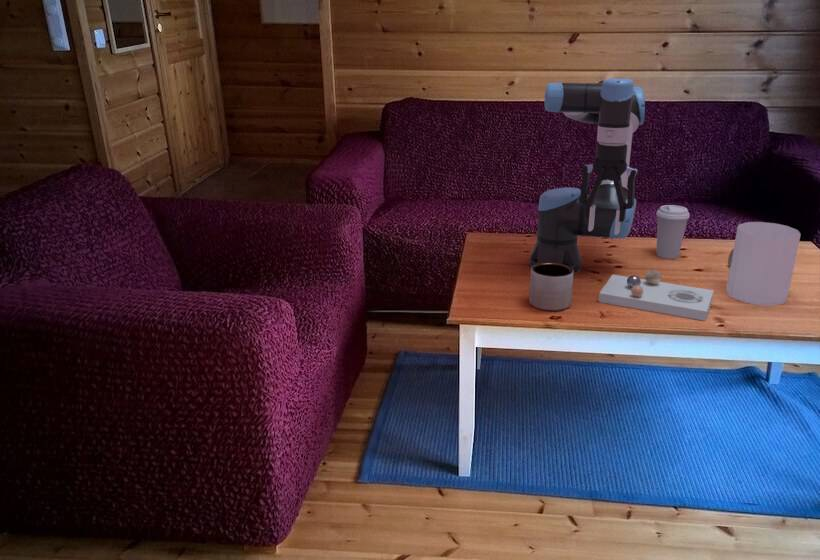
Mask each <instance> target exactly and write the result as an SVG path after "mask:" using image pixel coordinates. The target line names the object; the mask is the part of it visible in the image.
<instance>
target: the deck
mask: <svg viewBox="0 0 820 560" xmlns="http://www.w3.org/2000/svg"><path fill="white" fill-rule="evenodd" d="M628 277H629V276H625V275H619V274H618V275H617V274H611V276H610V277H609V279H608V280H607V282H606V283H605V284H604V286H603V287H602V288H601V290H600V291H599V294H598V302H599V303H603V304H608V305H612V306H613V305H614V306H620V307H626V308H629V309H636V310H642V311H647V312H653V313H657V314H659V313H660V314H663V315H670V316H675V317H681V318H687V319H691V320H696V321H697V320H698V321H702V322H703V321H704V322H706V321H707V317H708V315H709V310H710V307H711V305H712V302H713V297H714V292H715V291H714V290H713V289H708V288H707V289H706V288H702V287H701V288H700V287H694V286H689V285H682V284H677V283H675V284H674V283H669V282H662V281H659V282H658V283H657V284H649V283H648V282H647V281H646V279H644V278H640V280H641V283H640V285H639V286H641V287H642V288H643V294H642V295H641V296H640V297H635V296H633V295H632V293H631V289H632V288H630V287H629V286H628V285H627V279H628Z"/></svg>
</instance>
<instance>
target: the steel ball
mask: <svg viewBox="0 0 820 560" xmlns="http://www.w3.org/2000/svg"><path fill="white" fill-rule="evenodd" d="M627 277H628V279H627V285H628V286H629V287H630V288H632V287H633V286H635V285H640V283H641V280H640V279H641V278H640V277H639V276H638V275H636V274H632V275H630V276H627Z"/></svg>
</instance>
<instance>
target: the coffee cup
mask: <svg viewBox="0 0 820 560" xmlns="http://www.w3.org/2000/svg"><path fill="white" fill-rule="evenodd" d="M655 215H656V216H657V223H656V224H657V226H656V227H657V228H656V229H657V230H656V253H655V254H656V256H657V257H659V258H662V259H665V260H666V259H668V260H672V259H673V260H674V259H678V258H679V257H680V256H679V255H680V252H681V249H682V244H683V240H684V235H685V231H686V228H687V227H686V226H687V223H688V219H690V218H691V216H690V212H689V210H688V208H687V207H685V206H683V205H682V206H681V205H674V204H666V205H662V206H660V207H659V209H657V211H656V213H655Z"/></svg>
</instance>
